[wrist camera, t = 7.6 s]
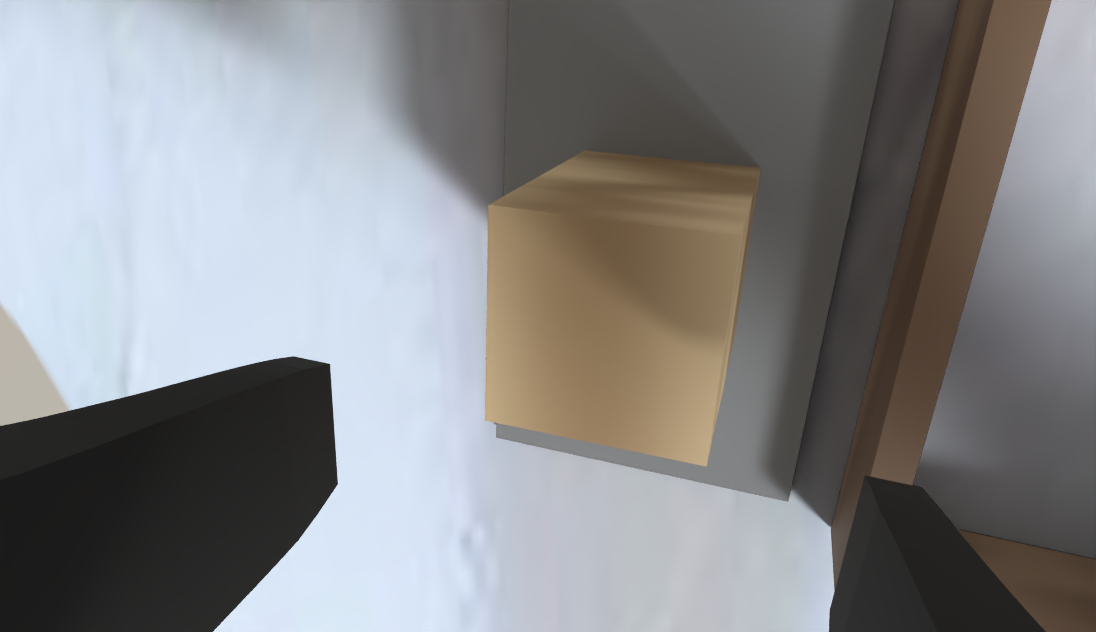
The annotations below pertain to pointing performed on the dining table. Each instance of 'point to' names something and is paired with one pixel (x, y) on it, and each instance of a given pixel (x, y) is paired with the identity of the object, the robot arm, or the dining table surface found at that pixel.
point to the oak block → (617, 300)
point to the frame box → (956, 295)
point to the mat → (724, 138)
